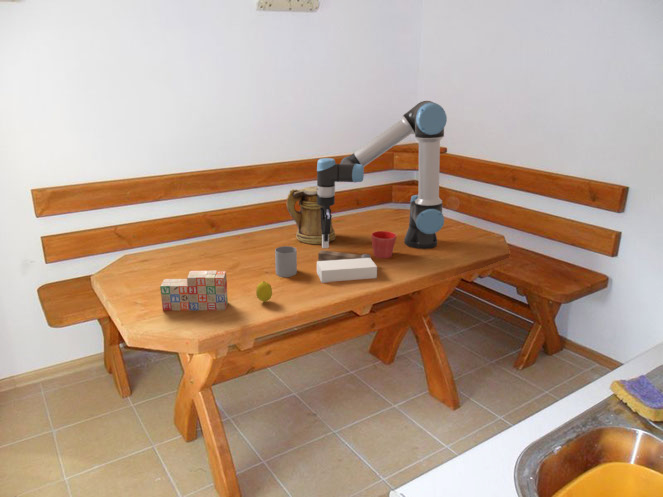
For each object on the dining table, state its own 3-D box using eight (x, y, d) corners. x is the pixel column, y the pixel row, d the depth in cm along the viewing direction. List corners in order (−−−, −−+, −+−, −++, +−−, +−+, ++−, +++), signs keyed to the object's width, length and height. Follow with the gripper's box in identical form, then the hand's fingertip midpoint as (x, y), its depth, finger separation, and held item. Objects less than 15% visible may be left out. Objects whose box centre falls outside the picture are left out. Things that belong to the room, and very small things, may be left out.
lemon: (257, 299, 191) (256, 278, 188) (272, 298, 191) (271, 278, 188) (256, 305, 186) (255, 284, 183) (272, 305, 186) (271, 284, 183)
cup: (293, 278, 209) (293, 254, 205) (273, 276, 210) (272, 252, 207) (298, 270, 217) (298, 247, 213) (279, 268, 218) (278, 245, 215)
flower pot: (397, 253, 237) (398, 232, 233) (391, 261, 227) (393, 239, 224) (374, 250, 240) (375, 229, 236) (367, 258, 230) (368, 237, 227)
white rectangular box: (369, 269, 218) (370, 257, 217) (376, 278, 209) (377, 266, 208) (316, 272, 214) (316, 261, 212) (321, 282, 205) (321, 270, 203)
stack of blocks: (162, 311, 181) (158, 277, 177) (166, 303, 187) (163, 270, 183) (225, 310, 182) (223, 277, 178) (228, 302, 188) (226, 270, 184)
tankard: (342, 241, 250) (343, 189, 241) (295, 248, 240) (294, 194, 232) (325, 230, 265) (325, 181, 257) (281, 237, 256) (279, 185, 247)
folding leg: (371, 265, 222) (371, 254, 220) (368, 268, 218) (369, 257, 216) (321, 258, 228) (321, 248, 226) (318, 262, 224) (318, 251, 223)
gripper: (314, 191, 232) (314, 243, 240) (320, 199, 220) (319, 253, 228) (331, 191, 234) (330, 242, 242) (337, 198, 222) (336, 252, 230)
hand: (325, 247), depth 235 cm, fingers closed
